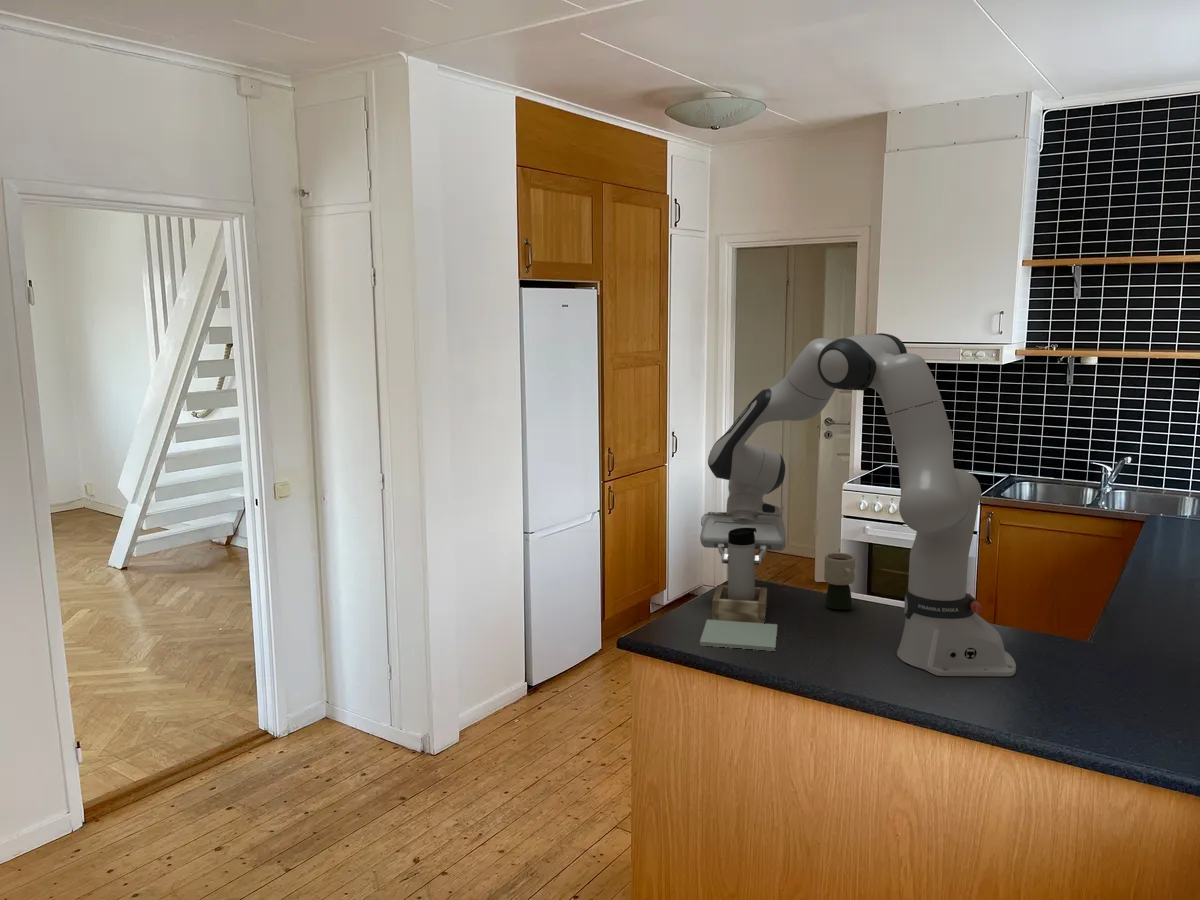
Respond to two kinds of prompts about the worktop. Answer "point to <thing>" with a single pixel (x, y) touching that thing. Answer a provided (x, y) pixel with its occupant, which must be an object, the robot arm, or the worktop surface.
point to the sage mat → (739, 635)
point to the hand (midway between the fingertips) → (741, 563)
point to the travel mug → (741, 564)
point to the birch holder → (739, 606)
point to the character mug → (839, 579)
